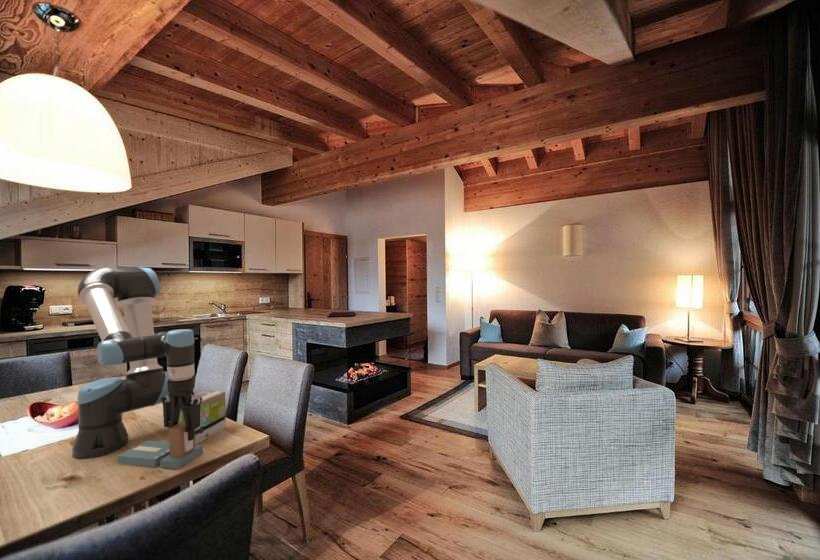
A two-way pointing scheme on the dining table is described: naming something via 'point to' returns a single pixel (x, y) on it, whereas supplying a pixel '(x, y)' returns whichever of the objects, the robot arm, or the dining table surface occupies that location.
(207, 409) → the tea box
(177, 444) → the stub
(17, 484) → the dining table surface
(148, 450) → the ticket
